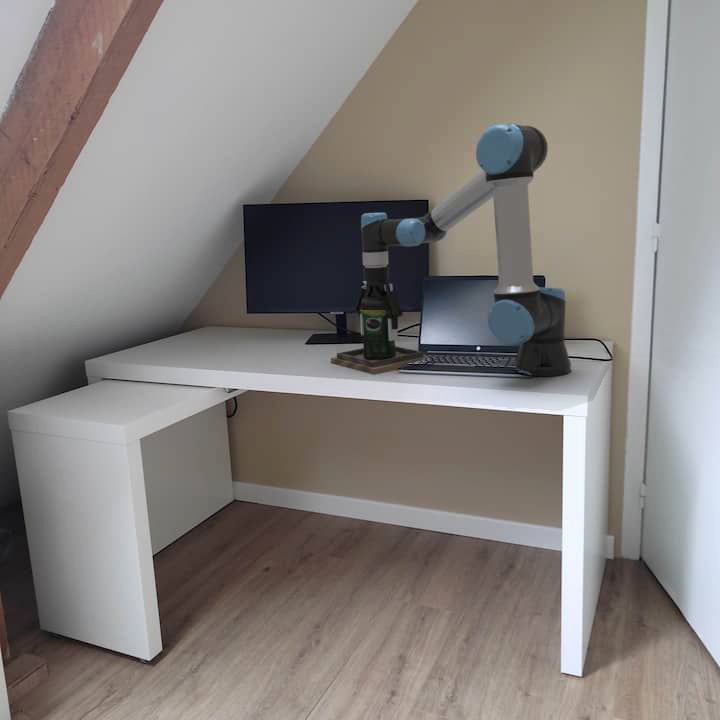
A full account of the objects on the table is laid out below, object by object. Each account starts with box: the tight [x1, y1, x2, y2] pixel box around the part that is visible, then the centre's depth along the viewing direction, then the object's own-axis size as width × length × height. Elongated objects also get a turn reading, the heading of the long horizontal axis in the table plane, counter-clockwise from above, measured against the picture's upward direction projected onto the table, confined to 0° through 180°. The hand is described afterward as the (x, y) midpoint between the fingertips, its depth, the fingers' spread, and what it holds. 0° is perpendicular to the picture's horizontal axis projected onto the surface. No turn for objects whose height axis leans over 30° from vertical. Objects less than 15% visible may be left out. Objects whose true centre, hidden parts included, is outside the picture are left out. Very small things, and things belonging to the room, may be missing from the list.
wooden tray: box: [330, 345, 431, 375], centre depth 221 cm, size 22×21×3 cm
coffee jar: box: [361, 297, 396, 360], centre depth 219 cm, size 10×8×19 cm
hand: (378, 337), depth 219 cm, fingers open, 13 cm apart
